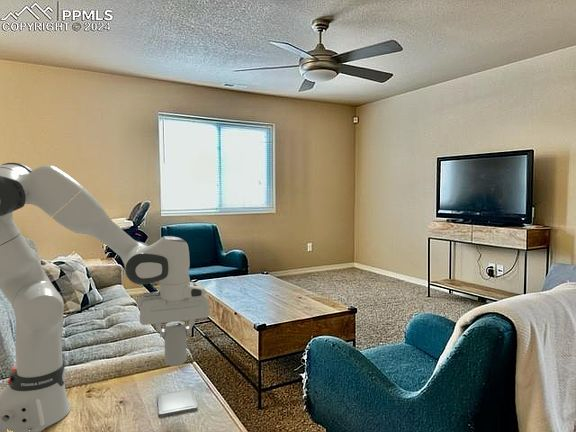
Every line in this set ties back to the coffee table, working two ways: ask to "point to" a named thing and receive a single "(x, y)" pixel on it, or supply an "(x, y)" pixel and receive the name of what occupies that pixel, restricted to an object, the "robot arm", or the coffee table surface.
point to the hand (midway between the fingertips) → (175, 334)
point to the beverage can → (175, 343)
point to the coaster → (176, 402)
